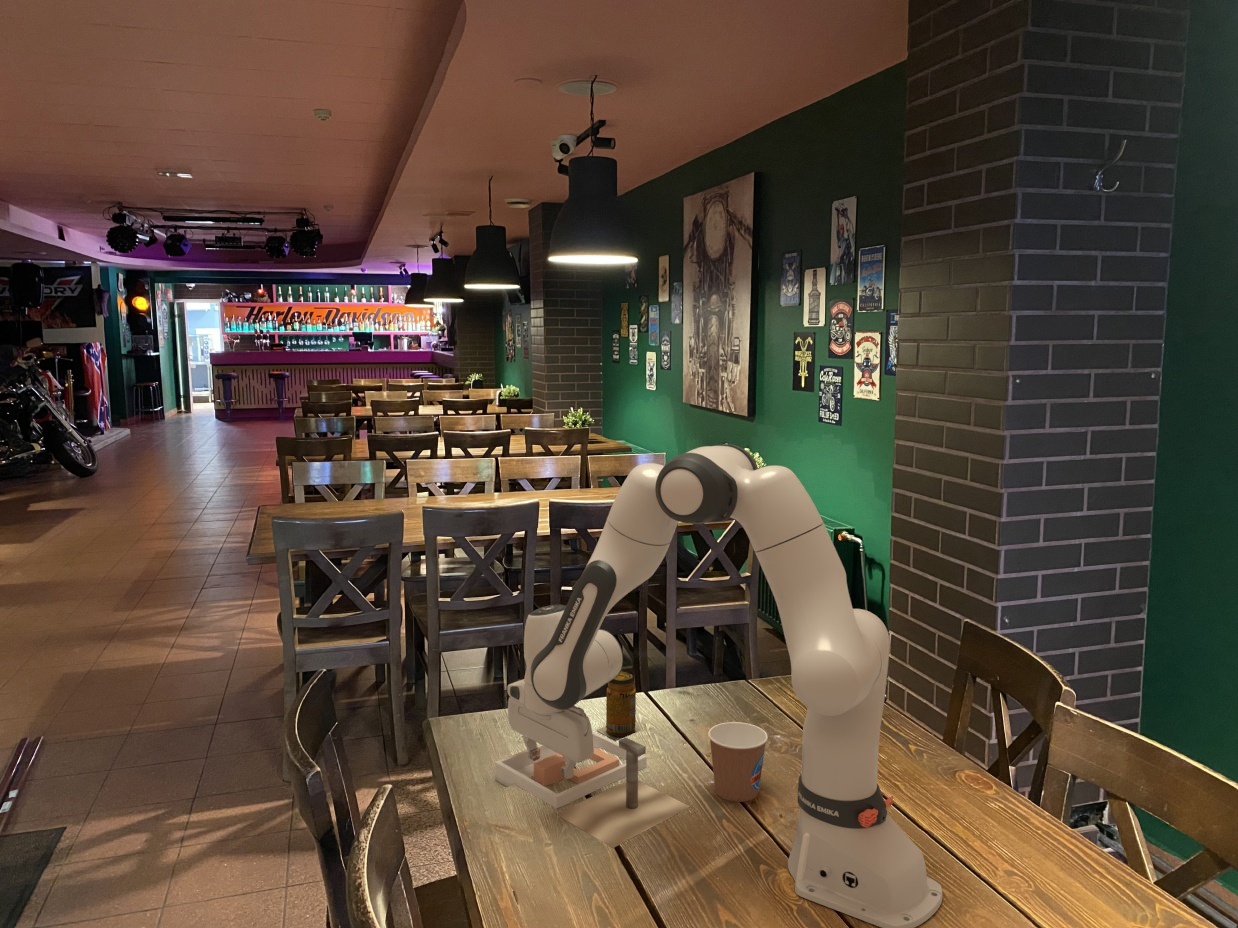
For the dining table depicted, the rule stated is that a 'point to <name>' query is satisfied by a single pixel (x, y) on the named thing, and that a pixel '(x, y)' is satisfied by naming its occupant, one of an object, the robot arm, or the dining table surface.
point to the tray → (522, 768)
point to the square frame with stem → (551, 768)
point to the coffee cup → (737, 759)
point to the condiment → (620, 707)
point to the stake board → (623, 805)
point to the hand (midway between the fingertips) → (550, 767)
